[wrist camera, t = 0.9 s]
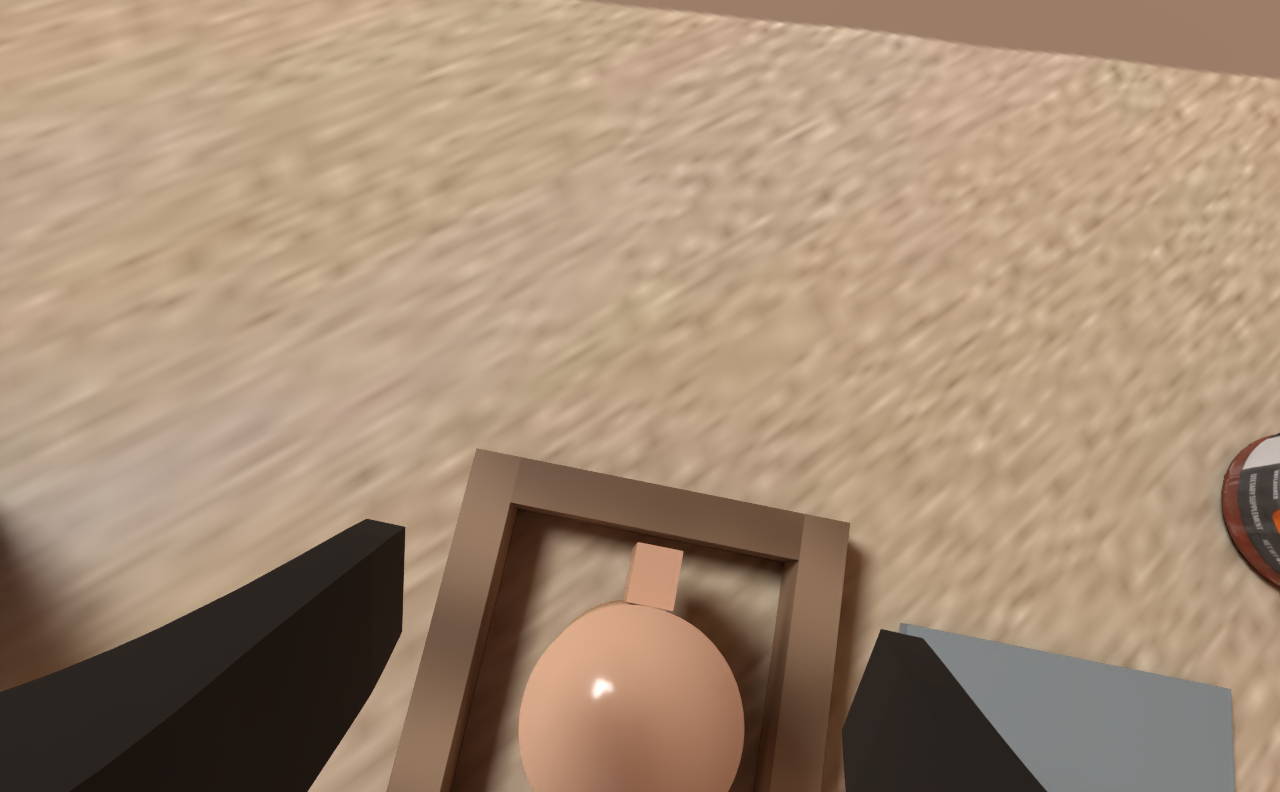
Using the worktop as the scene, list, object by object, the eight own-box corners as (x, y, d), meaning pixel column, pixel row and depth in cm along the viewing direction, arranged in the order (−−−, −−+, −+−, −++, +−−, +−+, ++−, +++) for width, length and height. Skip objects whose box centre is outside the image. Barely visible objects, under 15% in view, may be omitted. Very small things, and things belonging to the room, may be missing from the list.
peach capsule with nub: (684, 775, 22) (725, 874, 15) (533, 744, 22) (494, 826, 15) (717, 571, 24) (768, 563, 16) (576, 542, 24) (561, 522, 16)
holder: (783, 933, 21) (801, 967, 19) (385, 851, 21) (363, 877, 19) (830, 527, 25) (849, 523, 23) (487, 459, 25) (476, 448, 23)
